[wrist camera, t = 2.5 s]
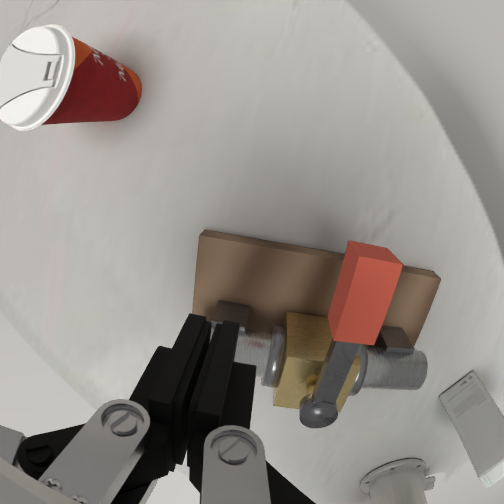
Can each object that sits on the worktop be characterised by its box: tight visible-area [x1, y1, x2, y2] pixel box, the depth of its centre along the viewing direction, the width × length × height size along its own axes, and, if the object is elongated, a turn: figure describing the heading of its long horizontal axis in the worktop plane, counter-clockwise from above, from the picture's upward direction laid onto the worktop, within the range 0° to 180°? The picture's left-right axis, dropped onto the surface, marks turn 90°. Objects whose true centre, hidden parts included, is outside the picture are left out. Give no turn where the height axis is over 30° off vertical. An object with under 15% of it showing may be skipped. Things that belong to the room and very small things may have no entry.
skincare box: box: [439, 371, 504, 488], centre depth 27 cm, size 8×7×16 cm
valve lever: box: [299, 241, 403, 428], centre depth 19 cm, size 14×3×3 cm, turn 171°
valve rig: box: [192, 230, 441, 412], centre depth 27 cm, size 24×14×11 cm, turn 81°
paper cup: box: [0, 24, 141, 131], centre depth 19 cm, size 8×8×14 cm
